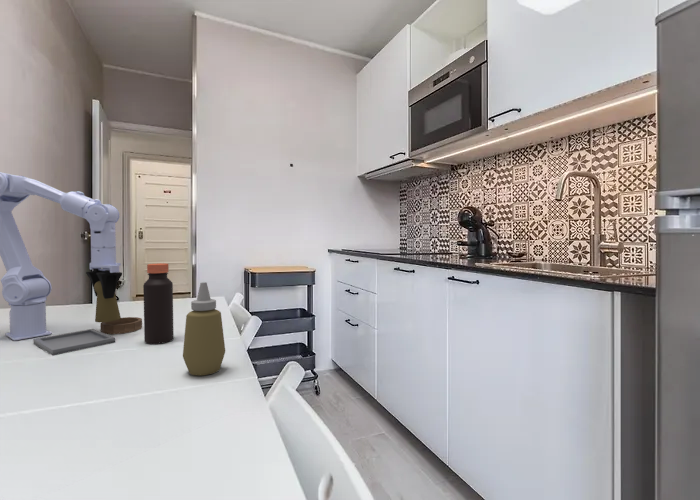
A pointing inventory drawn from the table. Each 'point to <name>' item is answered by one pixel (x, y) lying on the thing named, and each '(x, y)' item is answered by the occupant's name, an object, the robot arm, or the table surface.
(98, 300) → the pepper mill
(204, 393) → the table surface
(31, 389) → the table surface
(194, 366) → the squeeze bottle
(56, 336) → the tray
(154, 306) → the vinegar
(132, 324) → the ring
